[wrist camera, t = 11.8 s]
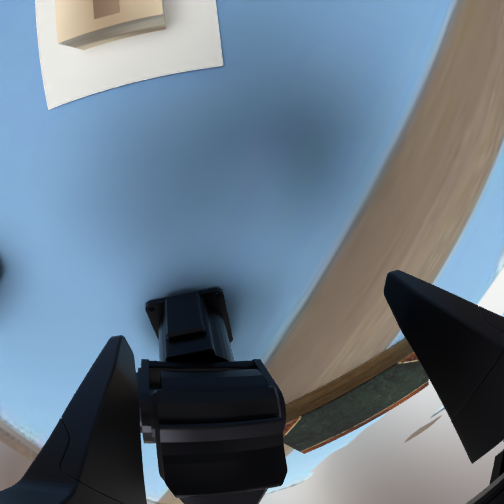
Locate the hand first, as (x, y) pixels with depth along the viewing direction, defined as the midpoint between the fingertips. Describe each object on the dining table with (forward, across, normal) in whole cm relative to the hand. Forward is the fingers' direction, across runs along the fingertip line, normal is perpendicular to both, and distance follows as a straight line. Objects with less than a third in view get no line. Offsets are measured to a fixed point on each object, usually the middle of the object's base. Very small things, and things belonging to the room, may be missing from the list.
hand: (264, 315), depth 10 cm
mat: (+13, +4, -14) cm, 20 cm away
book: (+14, -15, +36) cm, 42 cm away
